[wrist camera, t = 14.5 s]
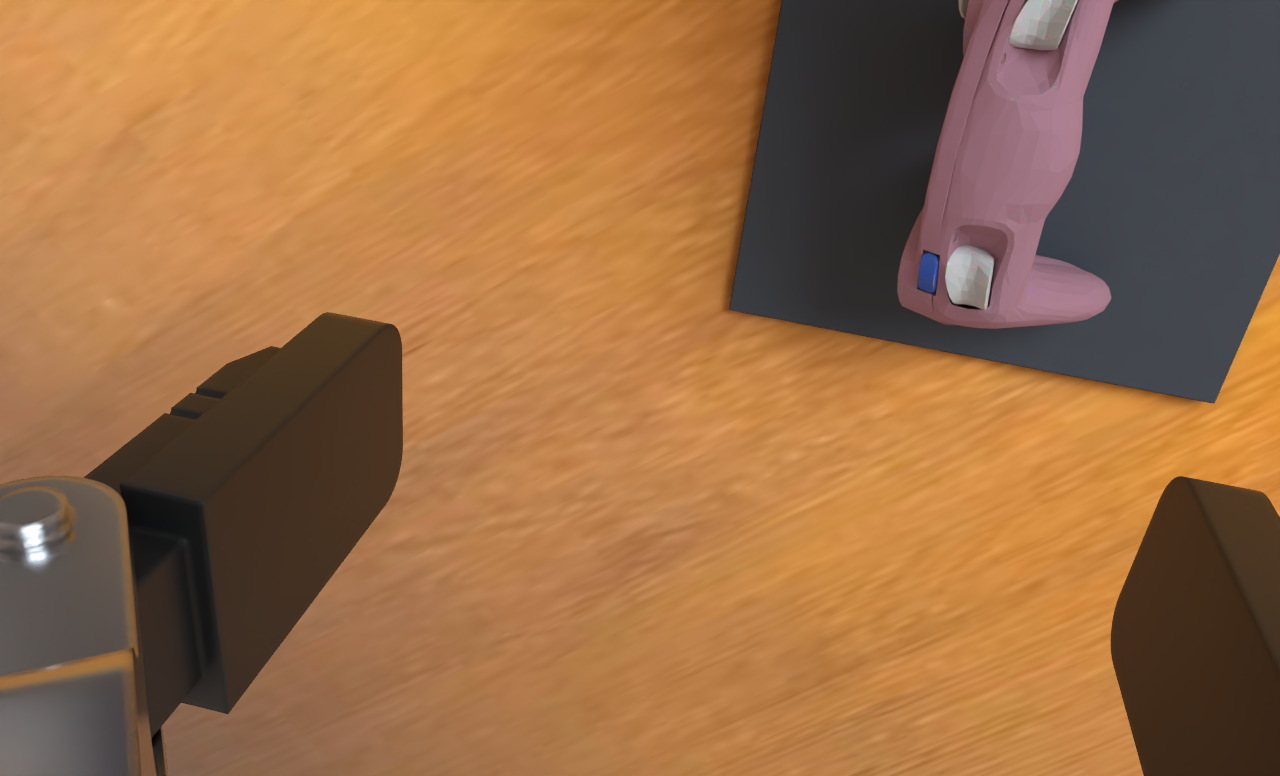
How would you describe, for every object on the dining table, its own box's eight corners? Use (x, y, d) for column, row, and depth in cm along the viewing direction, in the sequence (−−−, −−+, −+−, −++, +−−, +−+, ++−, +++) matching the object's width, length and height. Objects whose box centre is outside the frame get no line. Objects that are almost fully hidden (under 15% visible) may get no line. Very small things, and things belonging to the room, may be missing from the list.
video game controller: (1057, -100, 26) (940, -108, 21) (1253, -72, 24) (1174, -73, 19) (956, 266, 31) (841, 331, 26) (1111, 319, 29) (1018, 402, 23)
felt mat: (822, -226, 25) (820, -227, 25) (1447, -148, 23) (1455, -149, 23) (730, 305, 32) (728, 310, 31) (1211, 398, 30) (1214, 404, 30)
